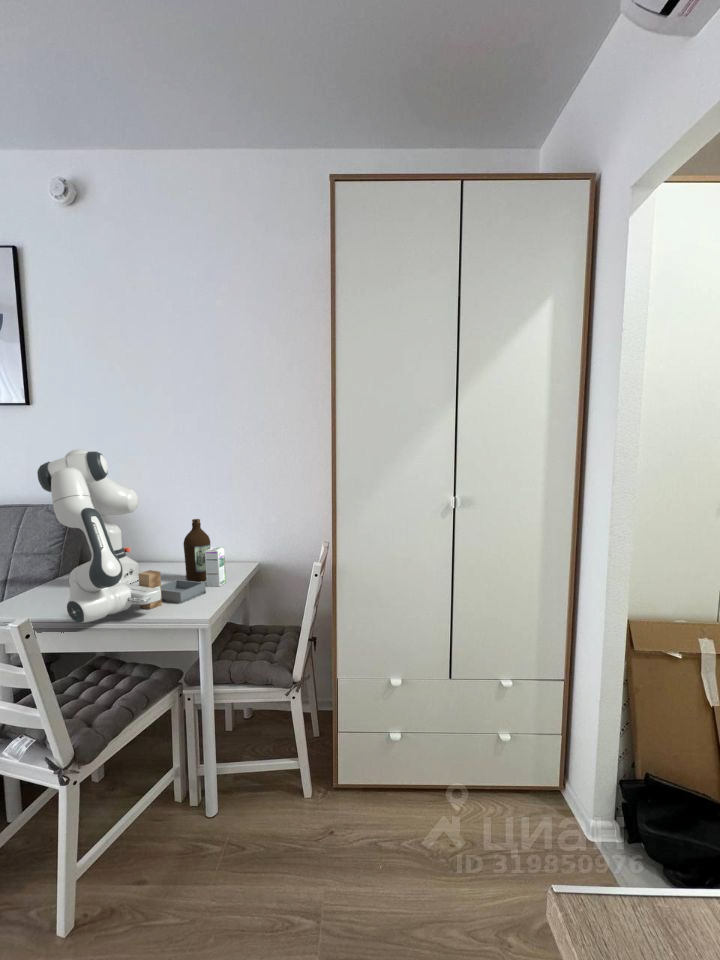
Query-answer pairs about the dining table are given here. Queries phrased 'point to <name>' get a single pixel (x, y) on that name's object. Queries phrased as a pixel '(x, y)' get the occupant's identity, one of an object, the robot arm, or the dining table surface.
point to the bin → (181, 590)
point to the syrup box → (215, 567)
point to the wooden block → (150, 585)
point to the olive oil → (196, 552)
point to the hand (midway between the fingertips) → (152, 587)
